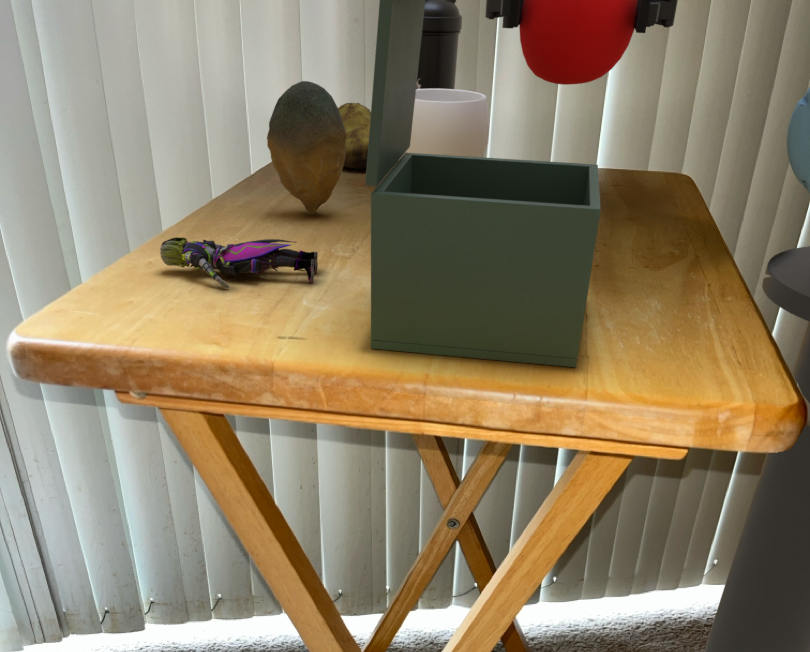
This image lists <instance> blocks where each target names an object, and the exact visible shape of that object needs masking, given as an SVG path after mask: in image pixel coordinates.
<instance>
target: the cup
mask: <svg viewBox="0 0 810 652" xmlns="http://www.w3.org/2000/svg"><path fill="white" fill-rule="evenodd" d="M488 107H489V106H488V100H487V95H485V94H483V93H481V92H477V91H471V90H465V89H455V88H454V89H416V94H415V103H414V113H413V122H412V132H411V141H410V147H409V148H408V150H407V151H406V152H405V153H421V154H437V155H453V156H469V157H484V155H485V153H486V149H487V147H488V144H489V143H488V142H489V131H490V115H489V108H488ZM405 153H404V154H405ZM404 154H403V155H404ZM403 155H402V156H403ZM399 160H400V159H399Z"/></svg>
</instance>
